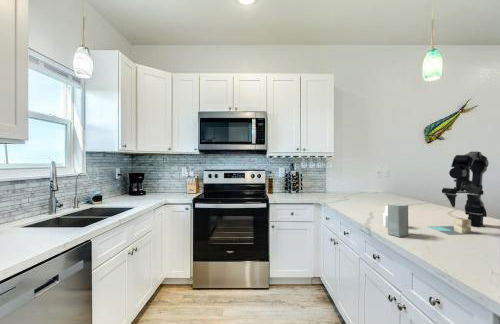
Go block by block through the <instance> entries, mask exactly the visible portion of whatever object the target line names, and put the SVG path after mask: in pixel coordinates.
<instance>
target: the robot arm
mask: <svg viewBox="0 0 500 324" xmlns="http://www.w3.org/2000/svg"><path fill="white" fill-rule="evenodd" d="M450 167H451V169H450V170H449V173H448V174H449V176H450V177H451V178H453V183H454V182H455V186H454V187H453V188H451V187H443V188H442V189H441V194H444V195H445V197H446V198H447V200H448V201H449V203H450V205H451V207H452V208H455V207H456V199H457V196H458V194H466V198H467V200H466V202H465V204H464V213H465V215H468V217H467V219H469V220H471V227H473V228H485V227H486V225H484V218H487V209H486V208H485V203H484V202H483V200H482V196H483V195H484V190H483V175H484V174H485V173H486V172H487V170H488V167H489V160H488V158H487V156H485V155H483V154H482V152H480V151H470V152H468V153H465V154H455V156H454V157H453V159H452V162H451V166H450ZM471 174H472V176H470V175H471ZM470 177H472V178H471V180H470Z"/></svg>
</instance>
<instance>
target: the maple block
mask: <svg viewBox="0 0 500 324" xmlns="http://www.w3.org/2000/svg"><path fill="white" fill-rule="evenodd" d="M453 226H454V231H456V232H459V233H471V231H472V226H471V220H469V219H468V218H466V217H465V218H464V217H454V218H453Z"/></svg>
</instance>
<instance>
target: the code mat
mask: <svg viewBox="0 0 500 324" xmlns="http://www.w3.org/2000/svg"><path fill="white" fill-rule="evenodd" d="M428 228H429V229H432V230H435V231H437V232H440V233H444V234H446V235H448V236H465V235H467V236H469V235H473V236H474V235H481V233H479V232H476V231H473V230H471V233H459V232H456V231H454V225H443V226H441V225H440V226H439V225H438V226H437V225H436V226H428Z"/></svg>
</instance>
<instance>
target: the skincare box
mask: <svg viewBox="0 0 500 324" xmlns="http://www.w3.org/2000/svg"><path fill="white" fill-rule="evenodd" d="M387 206H388V228H387V234H388V235H390V236H394V237H397V238H401V237H405V236H409V204H401V203H392V204H391V203H389V204H387Z"/></svg>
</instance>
